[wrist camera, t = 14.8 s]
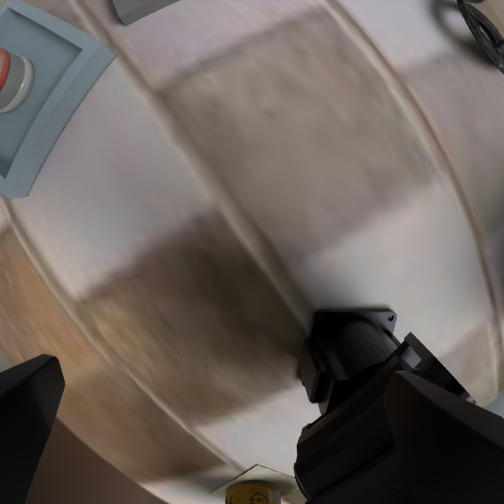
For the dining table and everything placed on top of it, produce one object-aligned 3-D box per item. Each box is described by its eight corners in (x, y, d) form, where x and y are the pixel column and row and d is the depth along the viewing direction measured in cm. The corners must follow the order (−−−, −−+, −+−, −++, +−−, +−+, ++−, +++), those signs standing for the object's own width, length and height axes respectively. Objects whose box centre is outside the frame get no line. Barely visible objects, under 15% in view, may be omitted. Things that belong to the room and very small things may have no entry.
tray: (116, 55, 16) (102, 42, 13) (27, 196, 18) (7, 199, 15) (25, 4, 13) (11, -5, 11) (-43, 116, 15) (-60, 115, 13)
